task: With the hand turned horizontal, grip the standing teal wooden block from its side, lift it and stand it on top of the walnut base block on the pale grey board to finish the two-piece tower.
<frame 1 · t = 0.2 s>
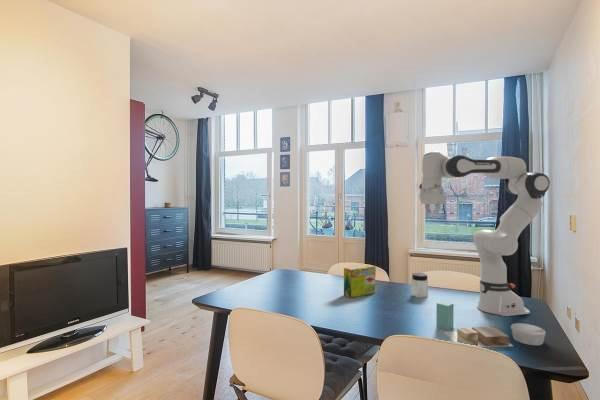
hand: (432, 213, 165), 48 cm above the table, tool pointing down, fingers open, 8 cm apart
fingerpaint box: (359, 294, 195), on the table
blueprint board: (476, 340, 133), on the table
oak cube: (467, 343, 128), point 1 cm above the table, touching blueprint board
jar: (419, 295, 192), on the table
walnut base: (490, 340, 131), resting on blueprint board
ramekin: (527, 342, 131), on the table
teal block: (444, 328, 144), on the table
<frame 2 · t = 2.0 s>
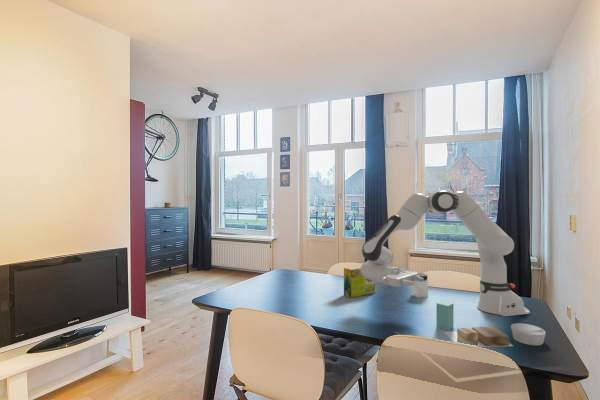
hand: (417, 281, 153), 18 cm above the table, tool horizontal, fingers open, 8 cm apart
nothing on the table moved.
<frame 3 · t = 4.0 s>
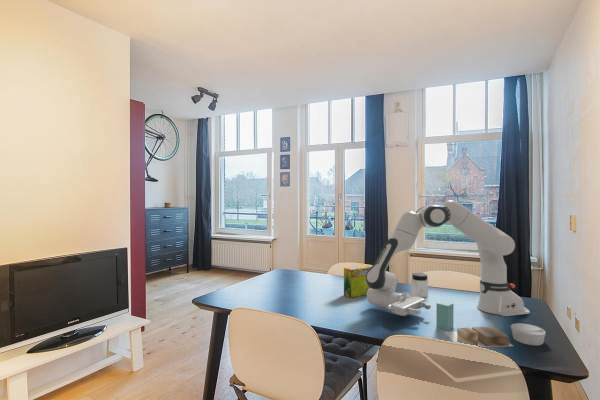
hand: (424, 309, 151), 6 cm above the table, tool horizontal, fingers open, 8 cm apart
nothing on the table moved.
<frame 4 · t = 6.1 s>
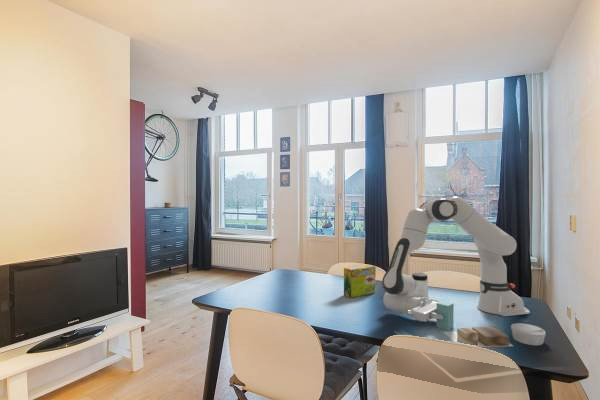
hand: (447, 315, 143), 6 cm above the table, tool horizontal, fingers closed on teal block, 5 cm apart
teal block: (444, 328, 144), on the table, touching gripper
everything else where it was.
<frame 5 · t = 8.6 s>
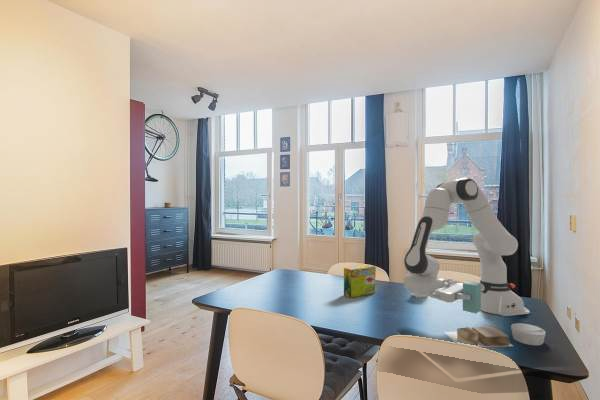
hand: (474, 295, 135), 17 cm above the table, tool horizontal, fingers closed on teal block, 5 cm apart
teal block: (471, 310, 136), point 11 cm above the table, touching gripper
everything else where it was.
when the fingers open (11 cm above the table, at t = 10.8 s): teal block drops 1 cm, resting on walnut base.
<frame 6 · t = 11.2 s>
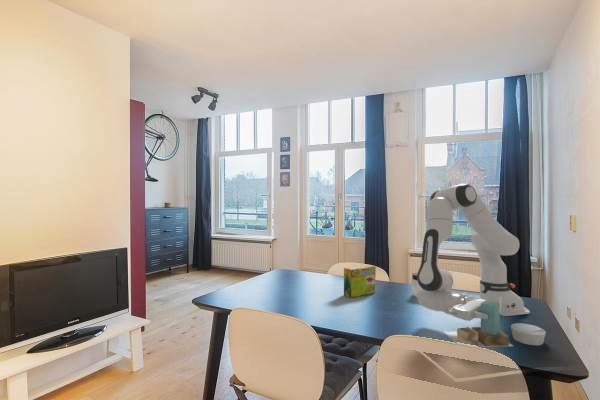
hand: (492, 313, 130), 11 cm above the table, tool horizontal, fingers open, 8 cm apart
teal block: (490, 331, 131), point 4 cm above the table, touching walnut base
everything else where it was.
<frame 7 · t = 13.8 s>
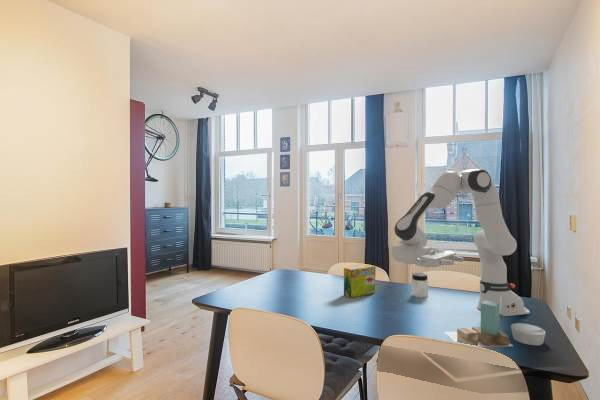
hand: (458, 261, 139), 30 cm above the table, tool horizontal, fingers open, 8 cm apart
nothing on the table moved.
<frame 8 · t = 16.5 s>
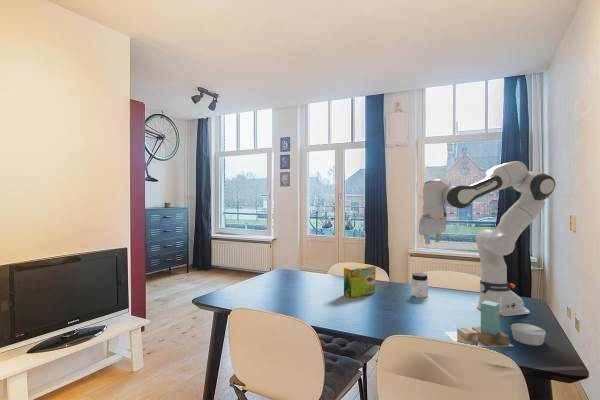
hand: (432, 243, 161), 34 cm above the table, tool pointing down, fingers open, 8 cm apart
nothing on the table moved.
at the end: teal block 0.0 cm off-centre on the walnut base, point 3.5 cm above the walnut base's base; teal block tilted 0°; the gripper is holding nothing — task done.
